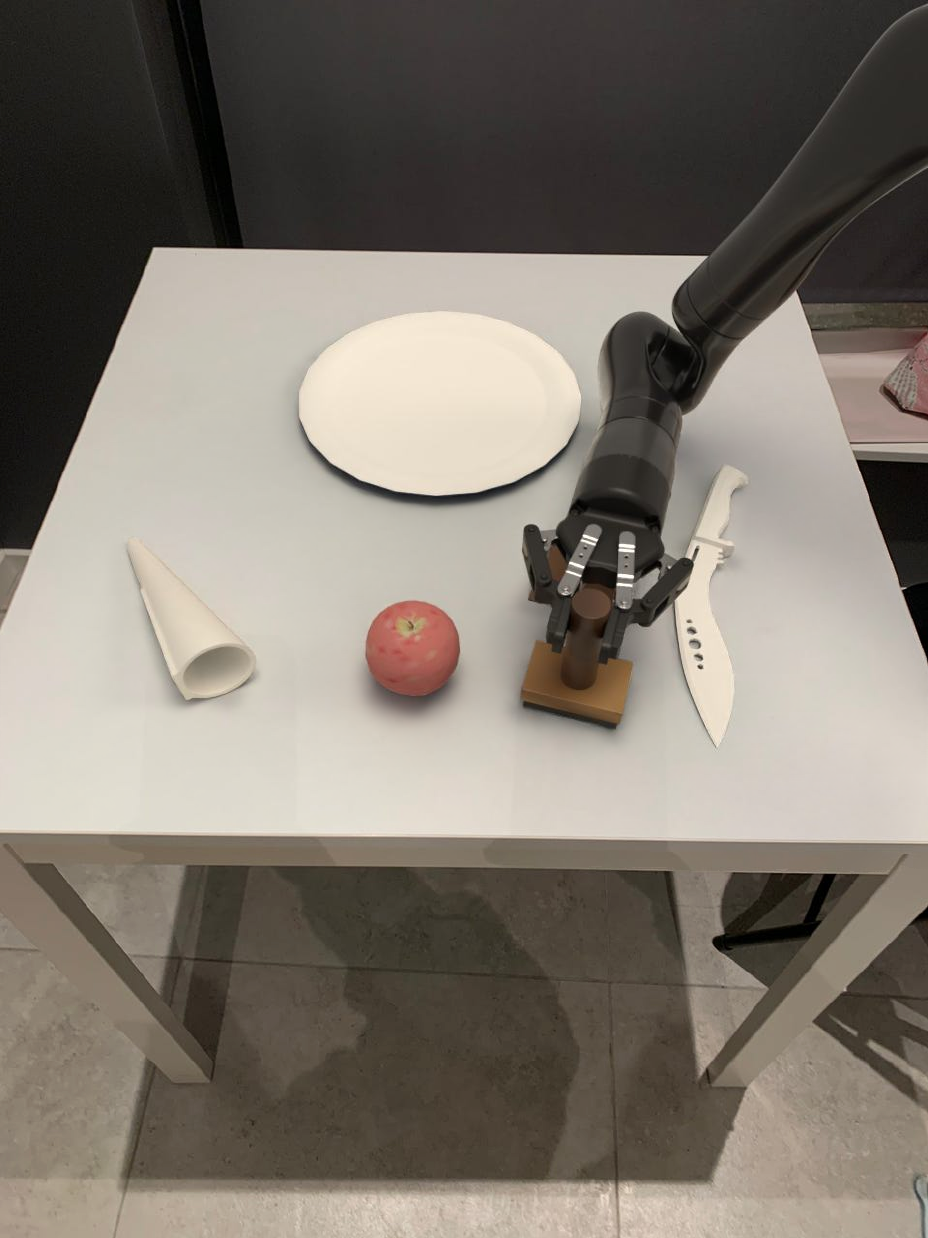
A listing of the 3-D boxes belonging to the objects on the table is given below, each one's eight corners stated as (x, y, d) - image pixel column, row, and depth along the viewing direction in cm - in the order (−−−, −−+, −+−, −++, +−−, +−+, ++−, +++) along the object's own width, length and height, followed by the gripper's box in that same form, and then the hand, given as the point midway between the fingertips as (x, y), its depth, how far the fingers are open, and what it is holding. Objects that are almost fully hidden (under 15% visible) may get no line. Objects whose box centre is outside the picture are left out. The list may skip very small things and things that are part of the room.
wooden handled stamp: (628, 681, 76) (653, 589, 67) (617, 732, 74) (641, 643, 64) (534, 659, 78) (544, 565, 68) (519, 708, 75) (528, 617, 65)
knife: (722, 744, 72) (626, 709, 74) (717, 754, 73) (623, 719, 75) (801, 483, 88) (720, 459, 90) (796, 495, 89) (716, 471, 91)
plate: (355, 303, 108) (354, 290, 107) (603, 347, 103) (605, 334, 102) (254, 472, 91) (251, 459, 90) (546, 533, 86) (547, 520, 85)
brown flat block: (632, 561, 84) (632, 560, 84) (618, 620, 80) (618, 619, 80) (546, 542, 86) (546, 542, 86) (528, 599, 82) (528, 599, 82)
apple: (444, 724, 74) (444, 667, 68) (357, 702, 75) (348, 644, 69) (469, 651, 78) (471, 591, 72) (386, 631, 79) (380, 570, 73)
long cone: (200, 536, 88) (265, 675, 76) (135, 564, 87) (191, 710, 75) (177, 491, 84) (243, 631, 72) (109, 519, 82) (164, 667, 70)
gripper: (544, 434, 74) (486, 597, 64) (720, 470, 72) (689, 644, 62) (537, 501, 80) (483, 659, 70) (700, 535, 78) (669, 704, 68)
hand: (580, 651), depth 66 cm, fingers closed on wooden handled stamp, 2 cm apart
